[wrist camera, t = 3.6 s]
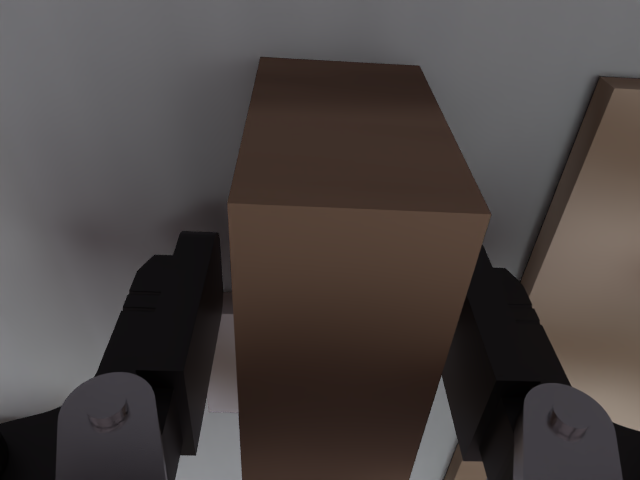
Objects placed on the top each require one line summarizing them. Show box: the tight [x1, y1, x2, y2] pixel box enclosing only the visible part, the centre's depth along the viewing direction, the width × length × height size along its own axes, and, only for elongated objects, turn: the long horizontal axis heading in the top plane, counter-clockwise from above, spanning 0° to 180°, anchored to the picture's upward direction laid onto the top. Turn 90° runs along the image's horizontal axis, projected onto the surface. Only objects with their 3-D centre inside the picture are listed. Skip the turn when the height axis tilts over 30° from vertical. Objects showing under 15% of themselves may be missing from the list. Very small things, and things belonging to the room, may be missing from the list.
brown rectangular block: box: [207, 57, 491, 480], centre depth 11 cm, size 10×6×5 cm, turn 177°
